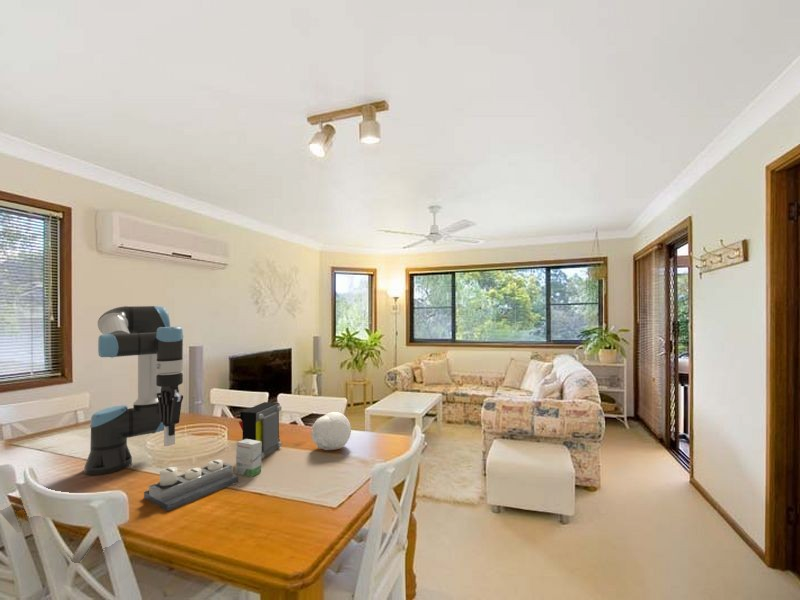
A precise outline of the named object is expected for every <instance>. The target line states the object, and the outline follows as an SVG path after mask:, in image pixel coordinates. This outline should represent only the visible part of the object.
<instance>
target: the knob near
mask: <svg viewBox="0 0 800 600" xmlns="http://www.w3.org/2000/svg"><path fill="white" fill-rule="evenodd" d="M178 471H179V470H178V467H177V466H169V467H165V468H163V469H161V470H159V482H160V485H161V486H168V485H172V484H174V483H176V482H177V481H178V475H179V474H178Z"/></svg>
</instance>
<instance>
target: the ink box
mask: <svg viewBox="0 0 800 600" xmlns="http://www.w3.org/2000/svg"><path fill="white" fill-rule="evenodd" d="M235 450H236V451H235V452H236V453H235V455H236V456H235V474H237V475H242V476H248V477H254V476H256V475H258V474H260V473H262V459H261V452H262V442H261V441H256V440H251V439H244V440H243V439H241V440H239V441H236V449H235Z"/></svg>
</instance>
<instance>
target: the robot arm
mask: <svg viewBox="0 0 800 600" xmlns="http://www.w3.org/2000/svg"><path fill="white" fill-rule="evenodd" d="M97 327H98V330H99V332H100V333H101V334H100V335H99V336H98V341H97V343H98V344H97V354H98V357H100V358H112V359H113V358H117V357H118V358H119V357H130V356H137V399H136V400H135V401H134V402H133V405H132V406H133V407H131V408H128V406H127V405H126V404H125V405H124V404H123V405H116V406H111V407H107V408H103V409H100V410H98V411H96V412H94V413H93V414H92V415H91V417H90V425H89V428H90V450H89V455H88V457H87V459H86V461H85V464H84V470H83V471H84V474H85V475H87V476H100V475H106V474H111V473H114V472H118V471H121V470H124V469H126V468H128V467H130V466H131V465H132V463H133V457H132V454H131V452H130V449H129V446H128V441H127V440H128V438H134V437H139V436H144V435H149V434H156V433H161V432H163V446H164V447H169V446H172V445H175V444H176V424H177V425H178V424H179V423H180V418H181V410H182V402H183V399H184V394H183V395H181V394H180V393H179V392H180V390H179V389H180V388H179V386H180V385H182V384H183V382H184V377H183V376H184V375H183V373H182V372H183V370H184V360H183V359H184V358H183V356H184V355H183V353H184V352H183V348H184V347H183V346H184V343H183V342H184V333H183V328H182V327H181V326H171V319H170V316H169V312H168V310H167V308H165V307H164V306H158V305H157V306H154V305H150V306H148V305H147V306H144V305H143V306H141V305H140V306H138V305H135V306H126V305H125V306H119V307H115V308H112V309H109V310H108V311H106V312H104V313H103V314H101V315H100V317H99V318H98V320H97Z"/></svg>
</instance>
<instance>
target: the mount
mask: <svg viewBox="0 0 800 600" xmlns="http://www.w3.org/2000/svg"><path fill="white" fill-rule="evenodd" d="M200 468H201V476H200V477H197V478H194V479H191V480H187V479H185V472H184V473H182V474H178V481H177V482H176V483H174V484H172V485H168V486H161V485H160V481H159V482H157V483H153V484H150V485H149V486H148V490H145V491H143V498H144V499H145V500H147V501H148V502H150V503H152V504H154V505H155V506H157V507H159V508H160V509H163V510H164V511H166V512H170V511H172V510H175V509H177V508H179V507H180V508H181V507H182V506H185V505H186V504H188V503H189V504H190V503H191V502H194V501H196V500H198V499H201V498H202V497H205V496H208V495H210V494H214V493H215V492H218V491H220V490H223V489H224V488H227V487H229V486H232V485H234V484H237V483H239V476H238V475H237V474H234V473H233V465H232V464H231V463H230V464H229V463H227V462H224V461H223V468H221V469H218V470H216V471H213V472H211V471H208V464H207V465H204V466H202V467H200Z"/></svg>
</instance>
